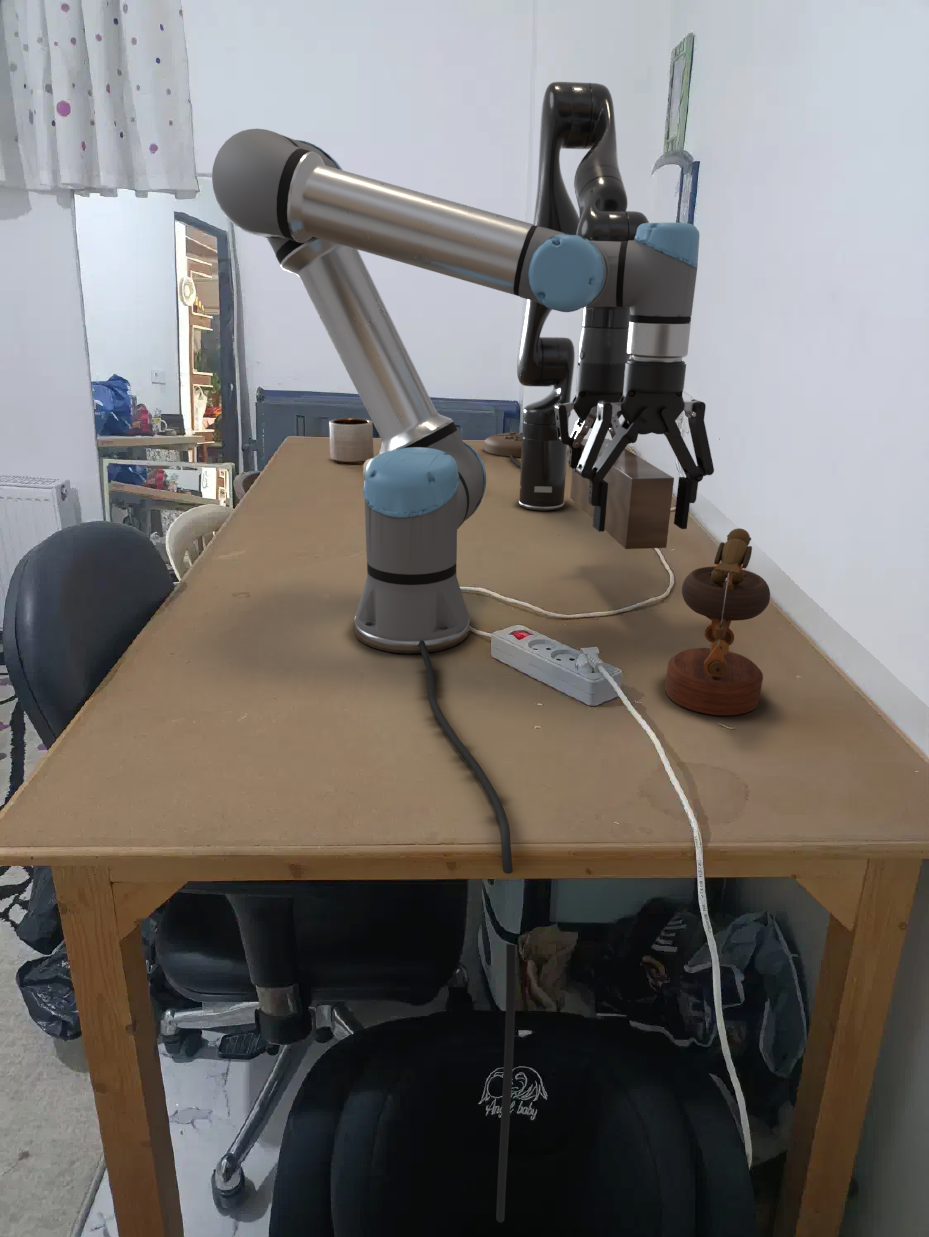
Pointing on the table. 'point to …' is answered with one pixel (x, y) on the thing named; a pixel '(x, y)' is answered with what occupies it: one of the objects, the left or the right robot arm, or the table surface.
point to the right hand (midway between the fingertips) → (594, 470)
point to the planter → (351, 440)
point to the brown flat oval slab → (504, 444)
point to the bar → (631, 500)
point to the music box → (720, 634)
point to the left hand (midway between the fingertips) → (639, 527)
